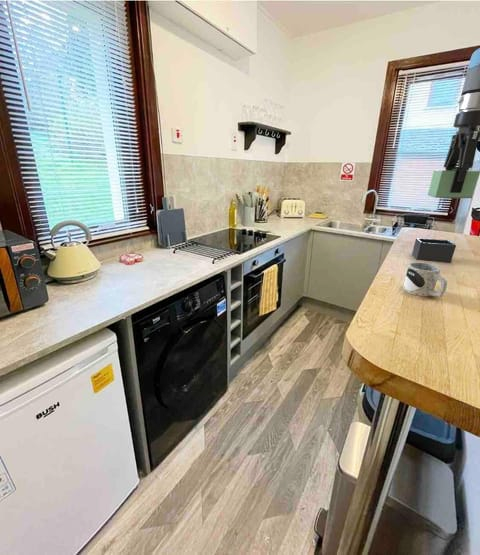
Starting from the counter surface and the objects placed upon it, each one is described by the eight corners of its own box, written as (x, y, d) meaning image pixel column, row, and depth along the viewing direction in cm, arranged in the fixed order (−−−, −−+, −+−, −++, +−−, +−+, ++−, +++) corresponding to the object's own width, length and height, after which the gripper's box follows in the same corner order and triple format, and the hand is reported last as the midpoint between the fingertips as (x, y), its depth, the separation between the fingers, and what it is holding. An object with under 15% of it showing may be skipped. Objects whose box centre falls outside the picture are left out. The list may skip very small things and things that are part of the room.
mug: (397, 286, 73) (402, 263, 70) (417, 284, 74) (423, 261, 72) (429, 304, 64) (437, 278, 61) (452, 300, 65) (460, 275, 63)
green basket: (461, 195, 93) (468, 170, 90) (471, 198, 86) (480, 171, 83) (427, 194, 96) (433, 170, 93) (435, 197, 89) (442, 171, 86)
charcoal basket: (444, 256, 96) (449, 240, 93) (450, 262, 90) (456, 245, 88) (411, 254, 99) (416, 237, 96) (416, 259, 93) (420, 242, 91)
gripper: (444, 117, 91) (427, 188, 100) (472, 106, 73) (448, 194, 82) (471, 115, 89) (451, 188, 98) (507, 104, 71) (478, 194, 80)
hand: (450, 191), depth 90 cm, fingers closed on green basket, 8 cm apart
